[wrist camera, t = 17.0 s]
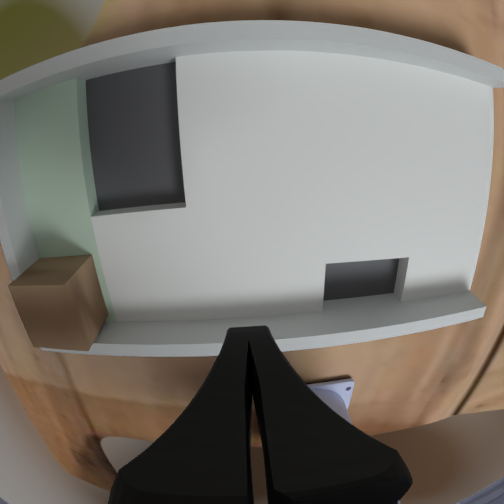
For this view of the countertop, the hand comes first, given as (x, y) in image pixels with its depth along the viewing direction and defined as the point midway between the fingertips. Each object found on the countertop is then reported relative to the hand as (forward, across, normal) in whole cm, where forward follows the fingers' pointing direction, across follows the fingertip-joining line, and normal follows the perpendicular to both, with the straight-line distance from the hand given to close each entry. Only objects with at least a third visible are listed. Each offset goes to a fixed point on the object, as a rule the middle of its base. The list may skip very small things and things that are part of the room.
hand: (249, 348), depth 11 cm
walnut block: (+8, +12, +2) cm, 15 cm away
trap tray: (+10, -2, -4) cm, 11 cm away
